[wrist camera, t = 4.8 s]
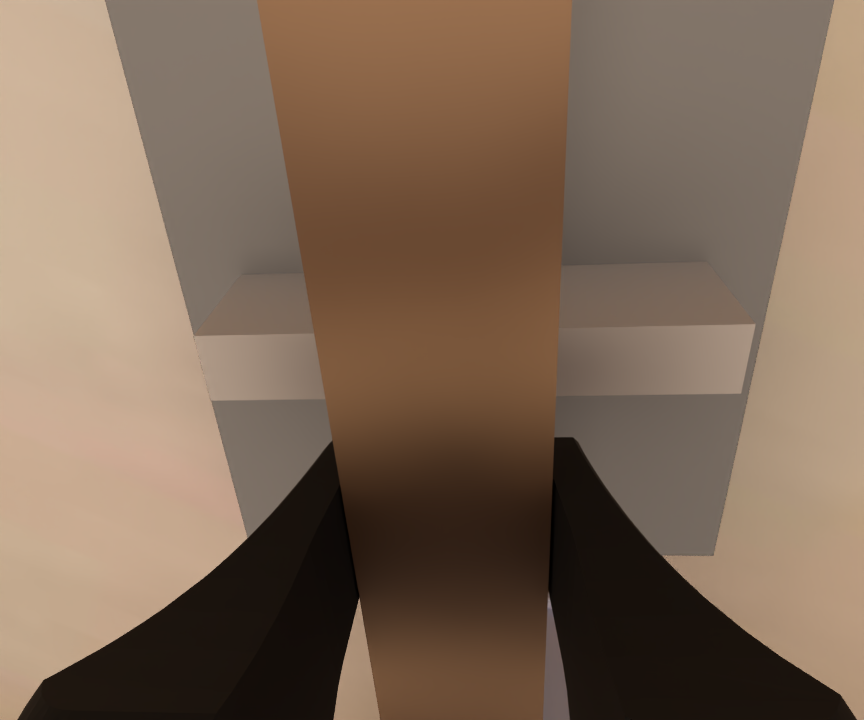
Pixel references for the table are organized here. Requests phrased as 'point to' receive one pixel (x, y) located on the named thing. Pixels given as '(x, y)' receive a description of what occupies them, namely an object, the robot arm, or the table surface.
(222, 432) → the fulcrum stand
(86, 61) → the table surface
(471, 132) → the walnut beam
